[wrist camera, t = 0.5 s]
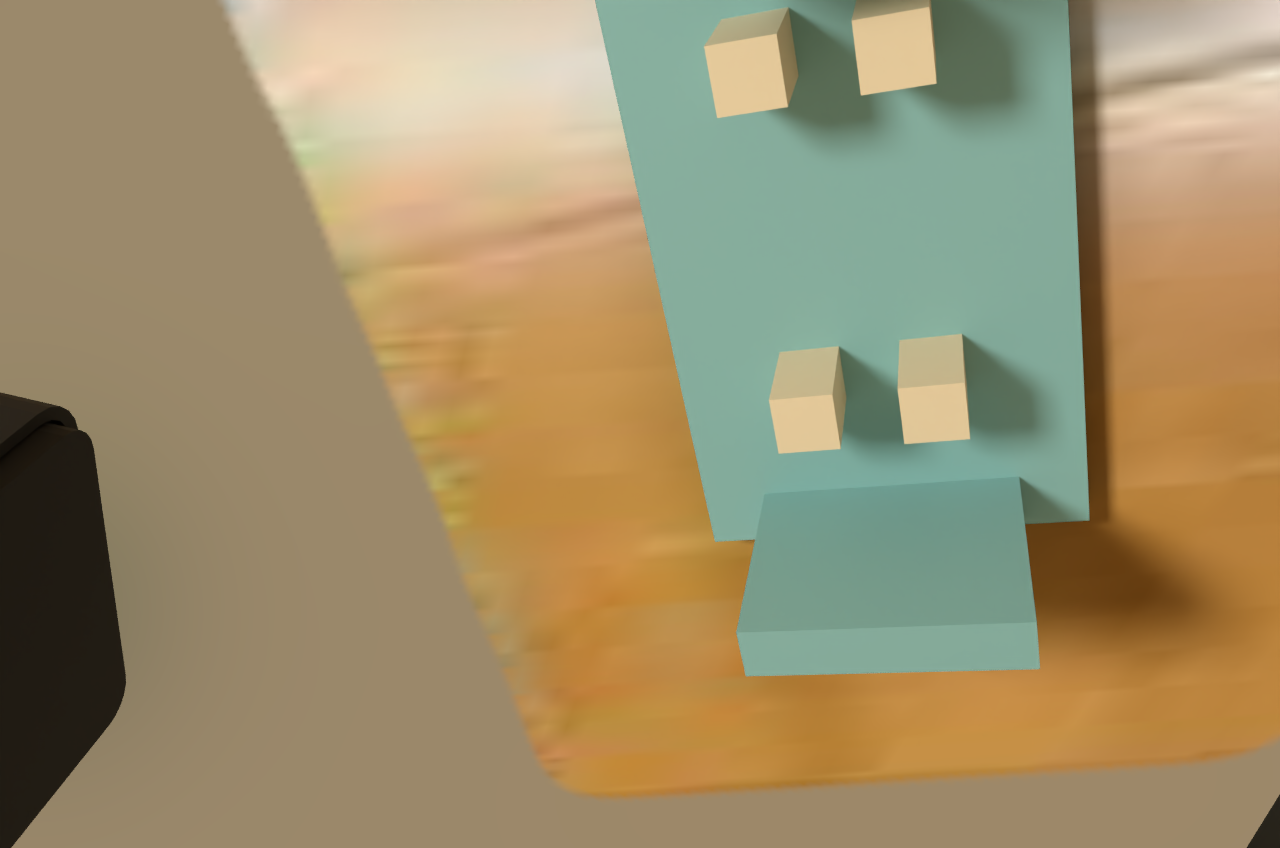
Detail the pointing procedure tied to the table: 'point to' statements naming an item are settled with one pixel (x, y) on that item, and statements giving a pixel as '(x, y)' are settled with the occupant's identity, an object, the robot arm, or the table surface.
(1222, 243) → the table surface
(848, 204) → the peg stand
